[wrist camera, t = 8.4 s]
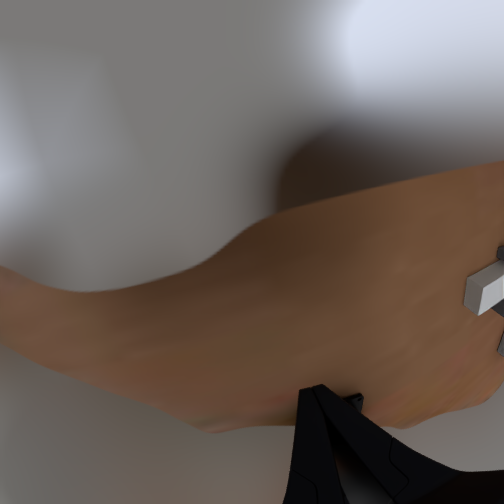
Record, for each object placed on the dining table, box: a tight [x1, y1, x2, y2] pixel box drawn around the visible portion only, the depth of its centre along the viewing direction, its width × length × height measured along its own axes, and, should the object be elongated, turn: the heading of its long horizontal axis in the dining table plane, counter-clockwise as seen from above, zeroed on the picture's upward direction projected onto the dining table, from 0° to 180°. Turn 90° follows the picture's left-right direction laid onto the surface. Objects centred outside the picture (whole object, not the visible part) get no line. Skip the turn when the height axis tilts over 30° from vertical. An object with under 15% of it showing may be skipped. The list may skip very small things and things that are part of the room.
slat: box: [463, 259, 504, 316], centre depth 23 cm, size 4×12×3 cm, turn 104°
